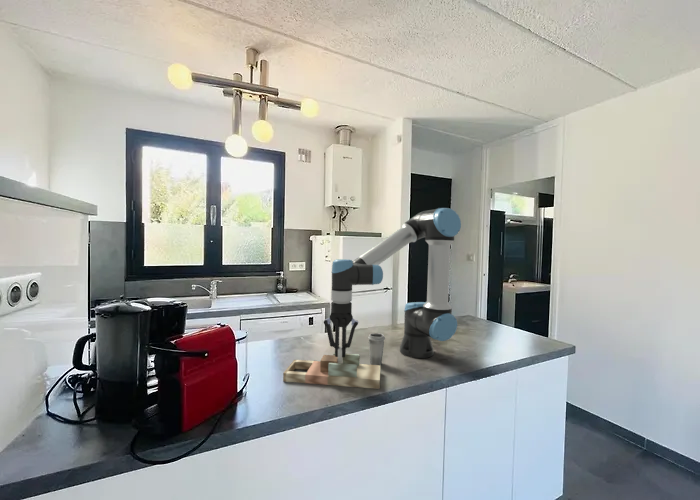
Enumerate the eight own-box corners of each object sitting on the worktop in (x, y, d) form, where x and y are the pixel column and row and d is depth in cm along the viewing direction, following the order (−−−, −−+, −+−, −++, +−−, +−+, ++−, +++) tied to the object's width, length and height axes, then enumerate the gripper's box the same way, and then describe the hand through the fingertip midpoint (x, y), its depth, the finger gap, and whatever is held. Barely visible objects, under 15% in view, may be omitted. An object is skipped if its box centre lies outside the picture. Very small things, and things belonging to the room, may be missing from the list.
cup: (382, 360, 132) (382, 332, 132) (386, 366, 125) (387, 337, 125) (365, 361, 131) (366, 332, 130) (369, 367, 124) (370, 337, 124)
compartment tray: (380, 373, 119) (380, 355, 119) (379, 388, 106) (379, 368, 106) (294, 366, 123) (294, 349, 123) (283, 381, 110) (283, 361, 110)
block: (339, 366, 117) (339, 355, 117) (336, 372, 111) (336, 361, 111) (323, 365, 118) (323, 354, 118) (320, 371, 112) (320, 360, 112)
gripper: (360, 300, 116) (358, 362, 117) (326, 299, 118) (324, 360, 118) (358, 304, 109) (356, 370, 109) (321, 302, 111) (320, 368, 111)
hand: (340, 365), depth 114 cm, fingers closed
